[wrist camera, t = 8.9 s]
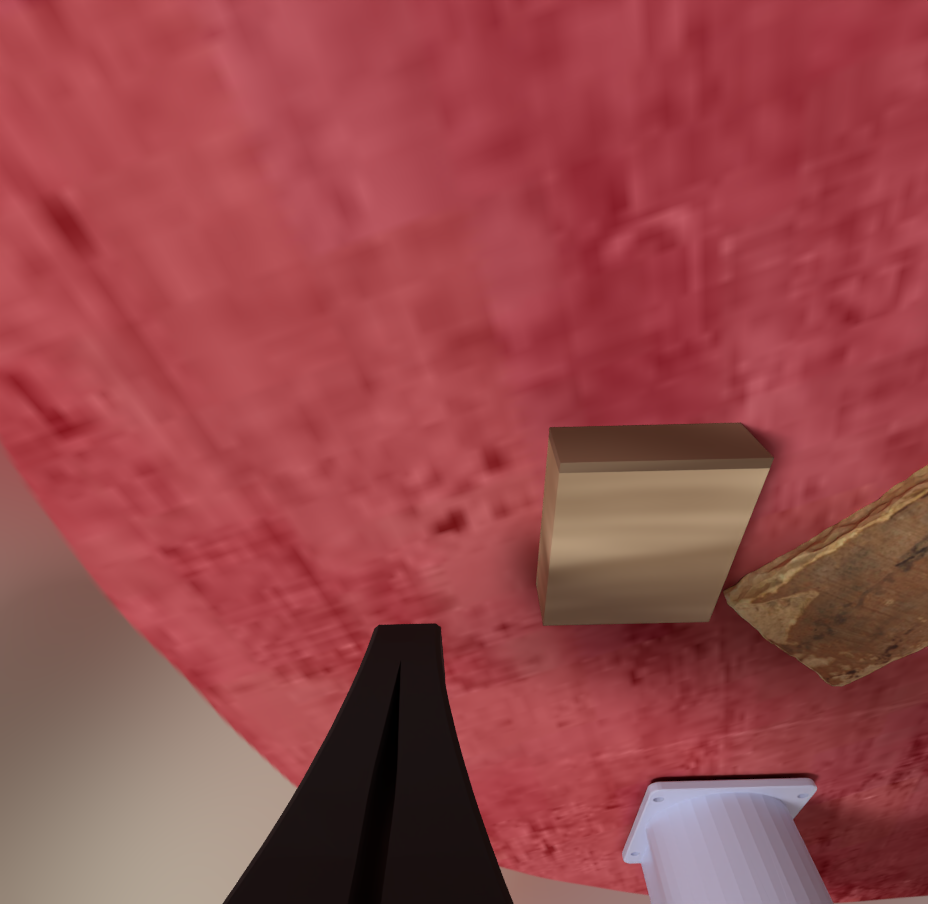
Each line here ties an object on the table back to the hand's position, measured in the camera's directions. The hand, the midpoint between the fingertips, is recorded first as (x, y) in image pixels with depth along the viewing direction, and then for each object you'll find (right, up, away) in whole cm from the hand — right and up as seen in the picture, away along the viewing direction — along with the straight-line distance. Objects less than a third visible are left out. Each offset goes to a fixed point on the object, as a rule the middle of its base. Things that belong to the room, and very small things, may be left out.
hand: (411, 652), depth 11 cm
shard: (+14, +2, +5) cm, 15 cm away
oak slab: (+6, 0, +5) cm, 8 cm away
